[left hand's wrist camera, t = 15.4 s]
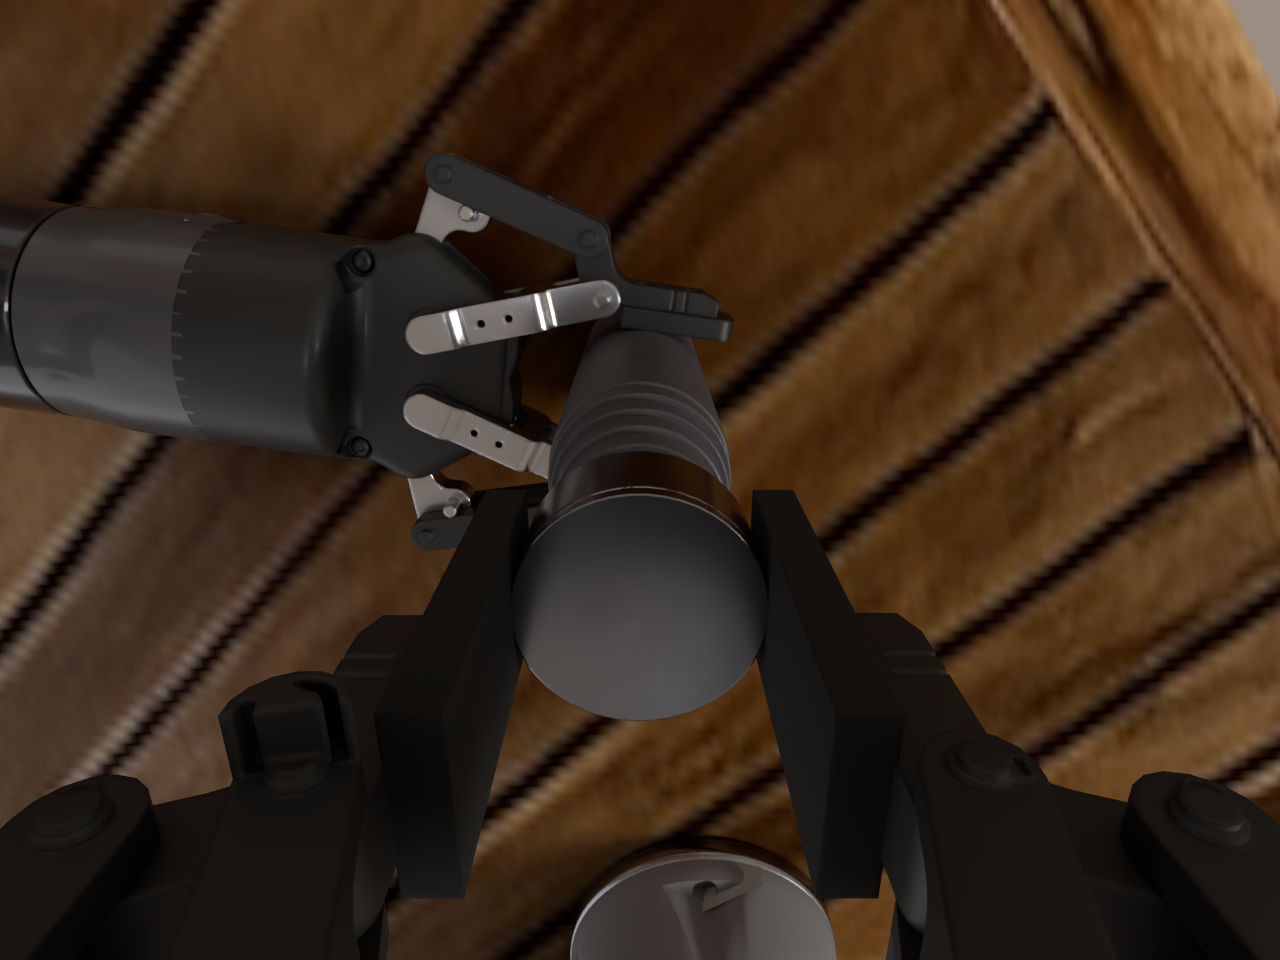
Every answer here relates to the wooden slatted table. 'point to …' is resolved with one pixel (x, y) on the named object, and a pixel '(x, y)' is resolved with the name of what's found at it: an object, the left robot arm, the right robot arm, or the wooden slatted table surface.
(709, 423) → the bottle
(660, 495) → the cap
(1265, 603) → the wooden slatted table surface
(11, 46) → the wooden slatted table surface
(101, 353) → the right robot arm
